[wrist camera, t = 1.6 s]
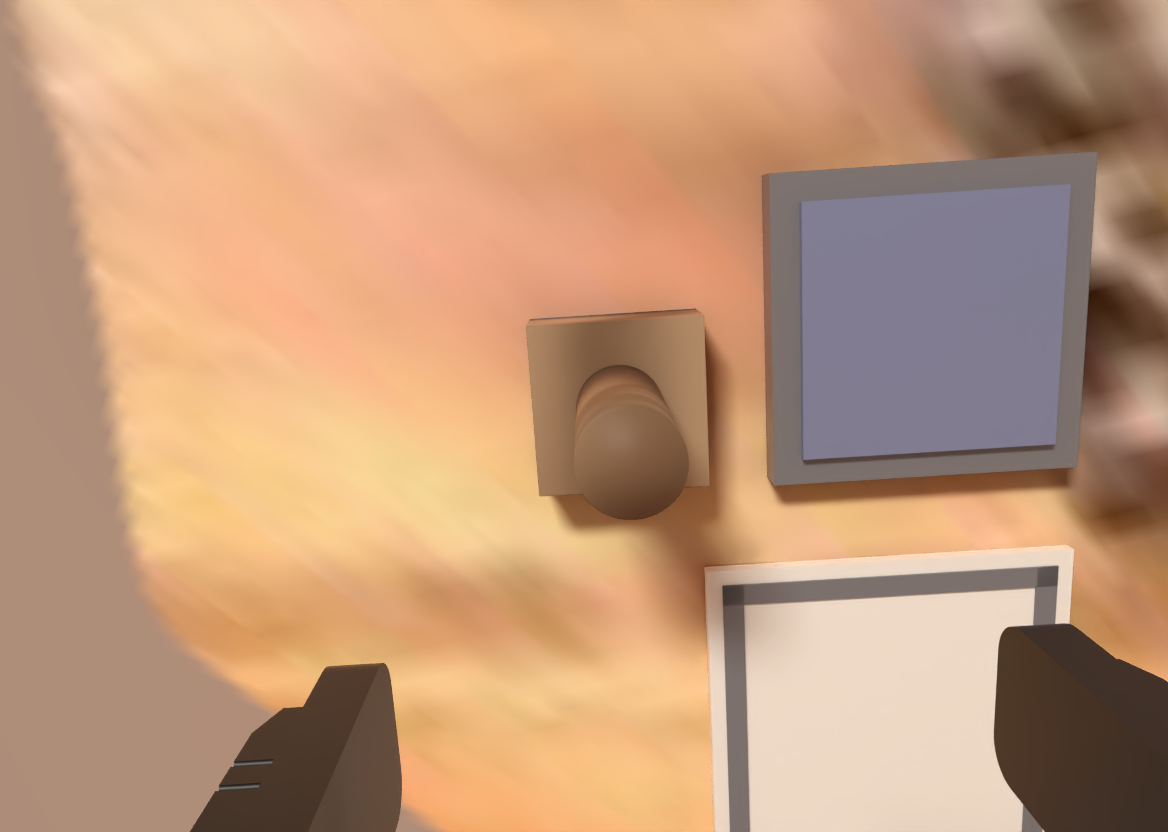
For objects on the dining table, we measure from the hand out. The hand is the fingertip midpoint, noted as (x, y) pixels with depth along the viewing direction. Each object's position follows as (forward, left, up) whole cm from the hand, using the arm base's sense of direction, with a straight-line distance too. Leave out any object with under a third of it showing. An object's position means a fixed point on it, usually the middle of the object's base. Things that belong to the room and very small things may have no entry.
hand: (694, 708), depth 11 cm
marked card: (-10, +14, -21) cm, 27 cm away
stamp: (0, 0, -21) cm, 21 cm away
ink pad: (-11, -2, -21) cm, 24 cm away
